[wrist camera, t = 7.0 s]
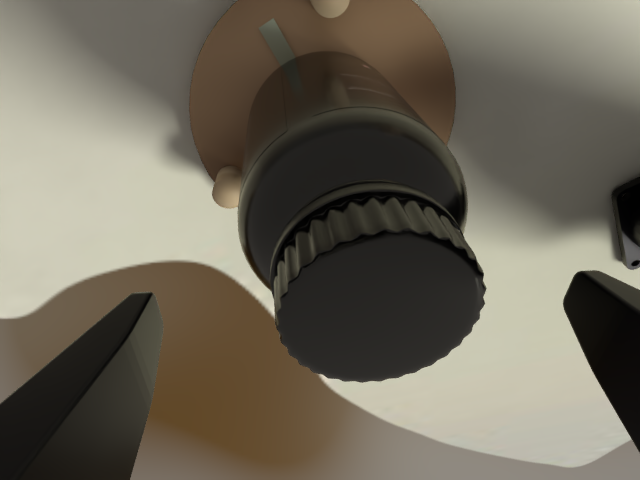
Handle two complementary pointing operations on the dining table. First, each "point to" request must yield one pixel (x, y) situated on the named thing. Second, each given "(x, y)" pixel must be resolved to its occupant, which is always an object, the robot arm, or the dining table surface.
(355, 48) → the dowel base
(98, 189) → the dining table surface
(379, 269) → the supplement bottle
